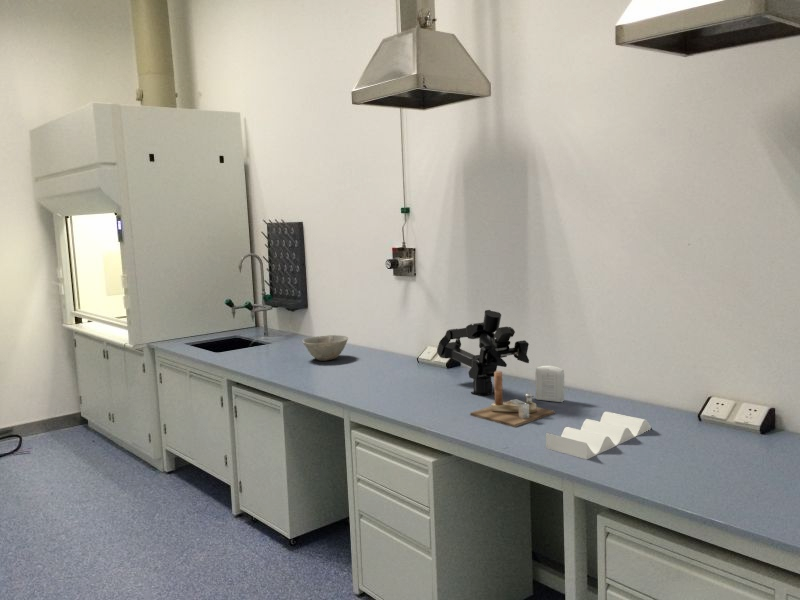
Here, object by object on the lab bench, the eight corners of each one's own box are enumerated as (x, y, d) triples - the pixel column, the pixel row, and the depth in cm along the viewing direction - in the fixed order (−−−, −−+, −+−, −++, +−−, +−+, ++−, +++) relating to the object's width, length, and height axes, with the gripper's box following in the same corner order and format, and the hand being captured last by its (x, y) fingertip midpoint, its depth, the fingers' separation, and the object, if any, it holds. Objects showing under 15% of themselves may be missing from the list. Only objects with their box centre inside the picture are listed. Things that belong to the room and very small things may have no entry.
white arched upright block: (566, 400, 236) (565, 365, 234) (562, 403, 232) (562, 368, 230) (537, 397, 241) (537, 363, 239) (533, 400, 237) (533, 366, 236)
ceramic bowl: (331, 352, 340) (330, 333, 339) (358, 358, 323) (357, 338, 321) (294, 359, 326) (292, 339, 325) (319, 366, 309) (318, 345, 307)
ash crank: (536, 409, 222) (535, 371, 220) (535, 413, 217) (535, 374, 216) (492, 408, 225) (491, 370, 224) (491, 411, 221) (490, 373, 220)
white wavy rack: (652, 430, 201) (652, 414, 200) (586, 461, 178) (586, 443, 177) (613, 422, 211) (613, 406, 210) (546, 450, 188) (545, 432, 187)
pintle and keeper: (529, 410, 222) (529, 392, 222) (542, 415, 216) (542, 397, 215) (510, 413, 219) (510, 395, 219) (523, 419, 213) (522, 400, 212)
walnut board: (470, 415, 222) (470, 412, 222) (510, 402, 235) (510, 400, 235) (514, 427, 208) (514, 424, 208) (554, 413, 220) (554, 410, 220)
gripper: (473, 325, 233) (498, 346, 220) (518, 319, 240) (543, 339, 228) (469, 353, 237) (493, 375, 224) (513, 346, 245) (538, 367, 232)
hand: (517, 363), depth 227 cm, fingers open, 9 cm apart
